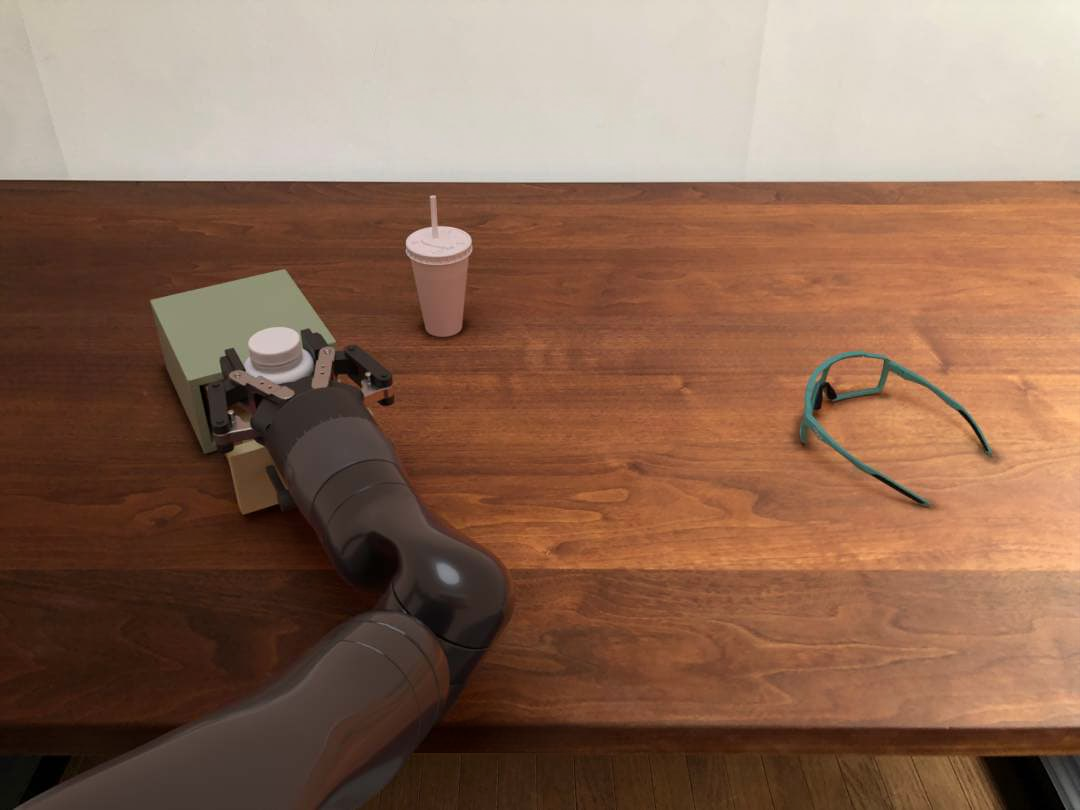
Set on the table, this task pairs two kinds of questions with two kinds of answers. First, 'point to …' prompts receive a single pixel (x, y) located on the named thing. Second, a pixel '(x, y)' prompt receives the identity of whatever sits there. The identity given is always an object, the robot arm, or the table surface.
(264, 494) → the drawer
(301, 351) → the supplement bottle
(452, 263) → the smoothie
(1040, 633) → the table surface
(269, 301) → the cabinet
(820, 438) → the sunglasses
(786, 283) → the table surface
